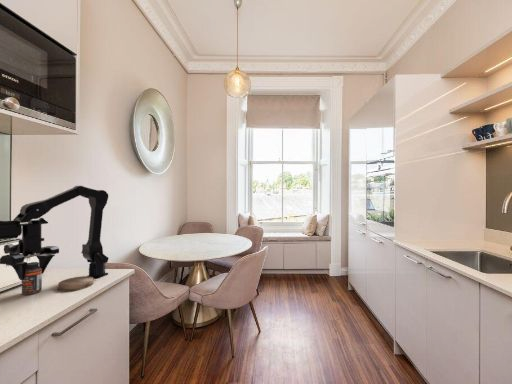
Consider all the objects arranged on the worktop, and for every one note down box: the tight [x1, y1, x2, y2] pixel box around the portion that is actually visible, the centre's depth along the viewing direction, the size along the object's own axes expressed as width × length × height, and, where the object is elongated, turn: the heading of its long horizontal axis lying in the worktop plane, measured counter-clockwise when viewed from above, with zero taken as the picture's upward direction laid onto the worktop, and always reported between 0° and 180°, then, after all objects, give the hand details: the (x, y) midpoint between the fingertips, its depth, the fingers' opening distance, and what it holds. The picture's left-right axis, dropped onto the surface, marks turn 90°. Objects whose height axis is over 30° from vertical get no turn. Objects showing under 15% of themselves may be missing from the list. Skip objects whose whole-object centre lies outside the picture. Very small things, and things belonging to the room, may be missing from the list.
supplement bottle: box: [21, 261, 43, 296], centre depth 102 cm, size 6×6×11 cm
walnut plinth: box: [57, 275, 94, 292], centre depth 109 cm, size 12×12×2 cm
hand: (31, 276), depth 102 cm, fingers open, 7 cm apart
